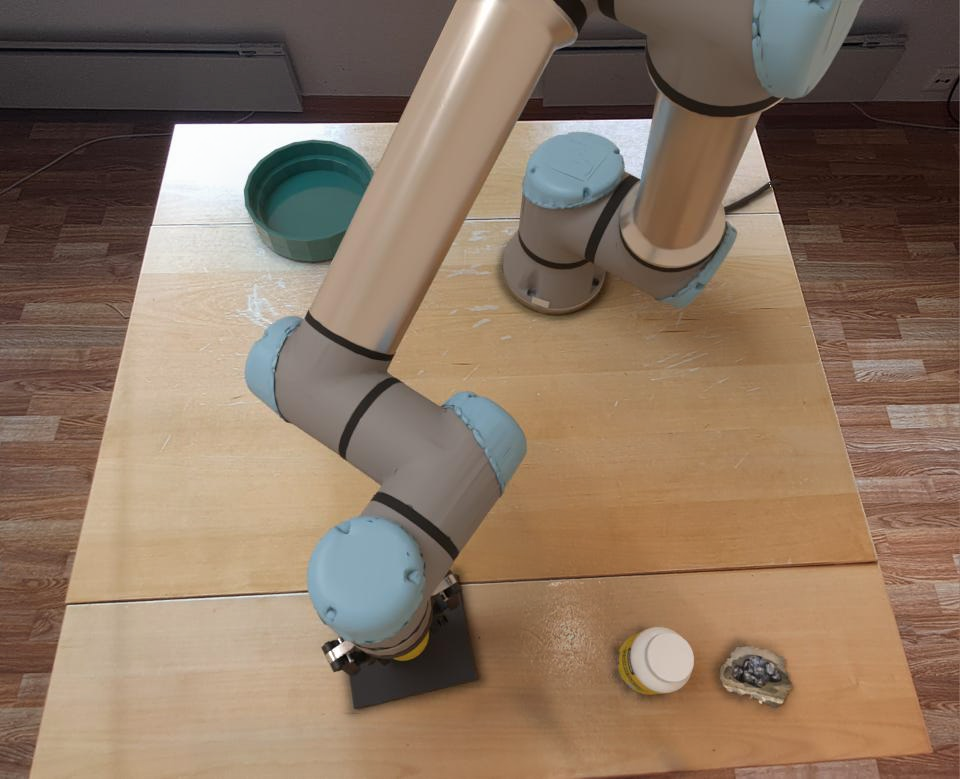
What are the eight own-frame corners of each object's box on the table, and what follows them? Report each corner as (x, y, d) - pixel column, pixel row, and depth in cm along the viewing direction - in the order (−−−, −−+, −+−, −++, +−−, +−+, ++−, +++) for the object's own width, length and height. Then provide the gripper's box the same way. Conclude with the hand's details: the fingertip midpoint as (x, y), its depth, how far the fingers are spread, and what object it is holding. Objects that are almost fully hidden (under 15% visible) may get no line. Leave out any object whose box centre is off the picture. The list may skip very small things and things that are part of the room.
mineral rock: (795, 706, 77) (802, 706, 76) (726, 712, 77) (732, 712, 75) (779, 643, 80) (786, 641, 78) (712, 648, 80) (718, 647, 78)
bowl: (369, 158, 111) (365, 131, 106) (388, 252, 103) (384, 228, 98) (249, 175, 109) (239, 149, 104) (259, 273, 101) (249, 250, 96)
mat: (456, 574, 83) (456, 573, 82) (477, 679, 78) (477, 679, 77) (340, 600, 81) (339, 599, 81) (354, 709, 76) (353, 709, 76)
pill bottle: (610, 637, 80) (633, 624, 70) (665, 632, 80) (695, 619, 70) (620, 697, 77) (645, 694, 67) (676, 692, 78) (709, 688, 67)
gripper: (457, 511, 60) (458, 564, 81) (262, 629, 56) (317, 654, 76) (504, 585, 58) (492, 620, 78) (304, 716, 53) (348, 716, 74)
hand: (406, 637), depth 77 cm, fingers closed on lemon, 6 cm apart
